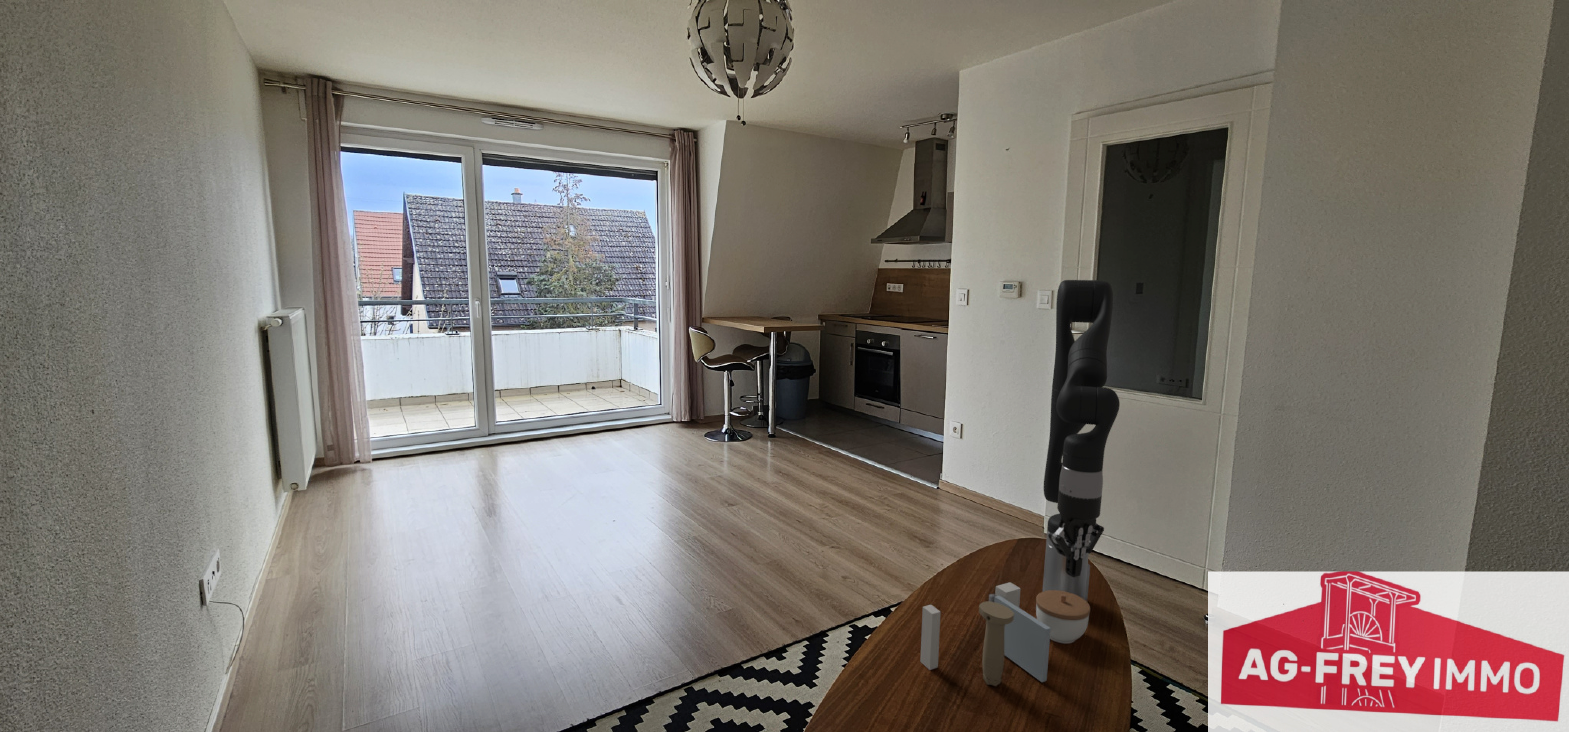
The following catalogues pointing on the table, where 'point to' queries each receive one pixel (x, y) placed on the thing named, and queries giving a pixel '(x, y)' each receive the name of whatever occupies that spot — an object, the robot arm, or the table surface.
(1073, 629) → the lidded jar
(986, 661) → the tan tapered grip
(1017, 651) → the door
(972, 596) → the table surface
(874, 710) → the table surface
